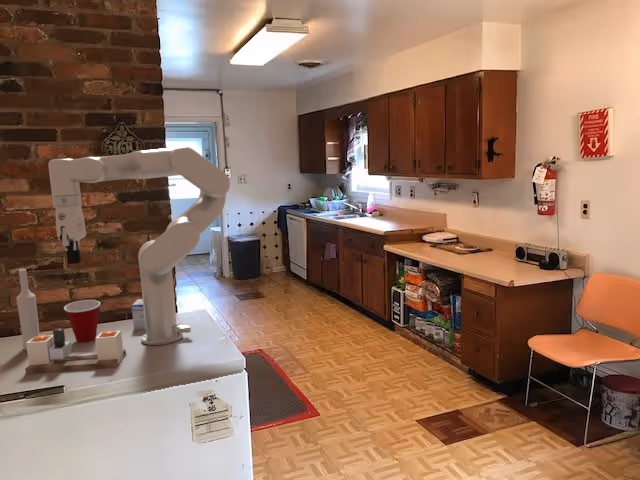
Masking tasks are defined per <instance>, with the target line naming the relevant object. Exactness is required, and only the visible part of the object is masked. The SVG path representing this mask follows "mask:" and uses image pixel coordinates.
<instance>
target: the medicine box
mask: <svg viewBox="0 0 640 480" xmlns="http://www.w3.org/2000/svg"><path fill="white" fill-rule="evenodd" d="M131 314H132V325H133V329H134V330H146V327H145V317H144V307H143V298H137V300H135V301H134V302H133V304H131Z"/></svg>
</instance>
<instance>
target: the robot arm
mask: <svg viewBox="0 0 640 480" xmlns="http://www.w3.org/2000/svg"><path fill="white" fill-rule="evenodd" d="M48 173H49V181H50V189H51V197H52V206H53V208H55V225H56V226H55V227H56V235H57V239H58V241H59V242H62V246H63V247H64V248H65V251H66V259H67V264H68V265H76V264H80V263H81V262H82V260H81V252H80V250H81V249H80V248H81V247H80V245H81V244H80V242H81V240H82V239H84V238H85V237H86V236H87V230H86V224H85V223H86V222H85V218H84V213H83V209H82V206H83V204H82V196H81V195H82V194H81V188H80V187H81V186H80V183H85V184H86V183H87V184H89V183H90V184H95V183H98V182H99V183H100V182H107V181H115V180H116V181H117V180H119V181H120V180H129V179H130V180H147V179H155V178H165V177H173V176H174V177H176V176H180V177H182V178H184V179H185V180H187V182H189V183H191V184H192V185H193V186H195V187H196V188H198V189H199V191H200V192H199V195H198V198H197V200H196V201H195V202H193V203H192V204H191V205H190V206H189V207H188V208H187V209H185V210H184V211H183V212H182V213H181V214H180V215H179V216H178V217H176V218H175V219H174V220H172V221H171V222H169V224H168V225H167V226H166V229H165V231H164V232H163V233H162V234H161V235H159V236H158V237H157V238H156V239H152V240H149V241H145V243H143V244H142V245H141V246H140V248H139V251H138V253H137V254H138V255H137V256H138V257H137V258H138V266H139V273H140V283H141V294H142V295H141V296H142V299H143V307H144V317H145V327H146V329H145V334H143V335H142V336H141V342H142V344H144V345H147V346H148V345H149V346H160V345H167V344H171V343H175V342H177V341H179V340H181V339H183V333H184V334H188V333H189V334H190V333H191V332H192V327H191V325H190V326H189V325H188V324H186V325H181V324H180V321H178V320H177V313H176V301H175V290H174V278H173V269H174V267H175V266H177V265H178V264H179V263H180V262H181V261H183V260H184V259H185V258H186V257H187V256H188V255H189V254H190V253H191V252H193V250H194V249H195V248H196V247H197V246H198V244H199V242H200V237H201V235H202V233H203V232H204V231H206V229H208V228H209V227H210V226H211V225H212V224H213V223H214V222H215V221H216V220H217V219H218V217H219V216H220V215H221V214H222V212H223V210H224V208H225V205H226V198H227V193H228V192H229V189H230V186H231V183H230V178H229V177H228V174H227V173H225V172H224V171H223V170H222V169H221V168H220V167H217V166H216V165H215V164H213V163H212V162H211V161H209V160H208V159H206V158H205V157H203V155H201V154H200V153H199V152H197V151H196V150H195V149H193V148H191V147H190V146H184V145H183V146H178V147H168V148H158V149H157V148H156V149H146V150H136V151H132V152H130V153H123V154H118V155H107V156H106V155H105V156H86V157H81V158H53V159H50V160H49V161H48Z"/></svg>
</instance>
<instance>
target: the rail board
mask: <svg viewBox="0 0 640 480" xmlns="http://www.w3.org/2000/svg"><path fill="white" fill-rule="evenodd" d="M122 354H124V356H123V358H125V356H126V355H127V352H126V349H124V348H123V353H122ZM122 360H123V359H121V361H122ZM118 365H119V364H118V359H111V360H98V357H97V350H95V351H83V352H82V351H81V352H71V353H69V354H68V355H67V356H66V357H65V358H64V359H54V360H53V361H52V362H51V363H50V364H40V365H29V364H28V365H27V366H26V367H25V368H24V369H25V374H39V373H42V374H43V373H54V372H57V373H58V372H67V371H69V372H70V371H81V370H83V371H84V370H96V369H97V370H98V369H112V368H116V367H118Z"/></svg>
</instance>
